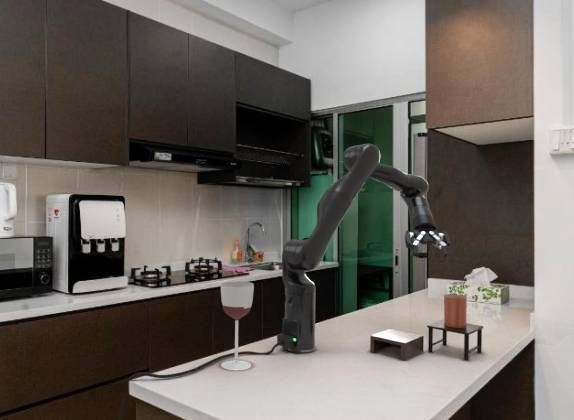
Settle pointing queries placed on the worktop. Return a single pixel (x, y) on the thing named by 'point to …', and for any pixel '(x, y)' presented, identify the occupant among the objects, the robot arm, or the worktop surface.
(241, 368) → the wineglass
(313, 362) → the worktop surface
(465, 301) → the cup
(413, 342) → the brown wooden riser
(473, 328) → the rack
